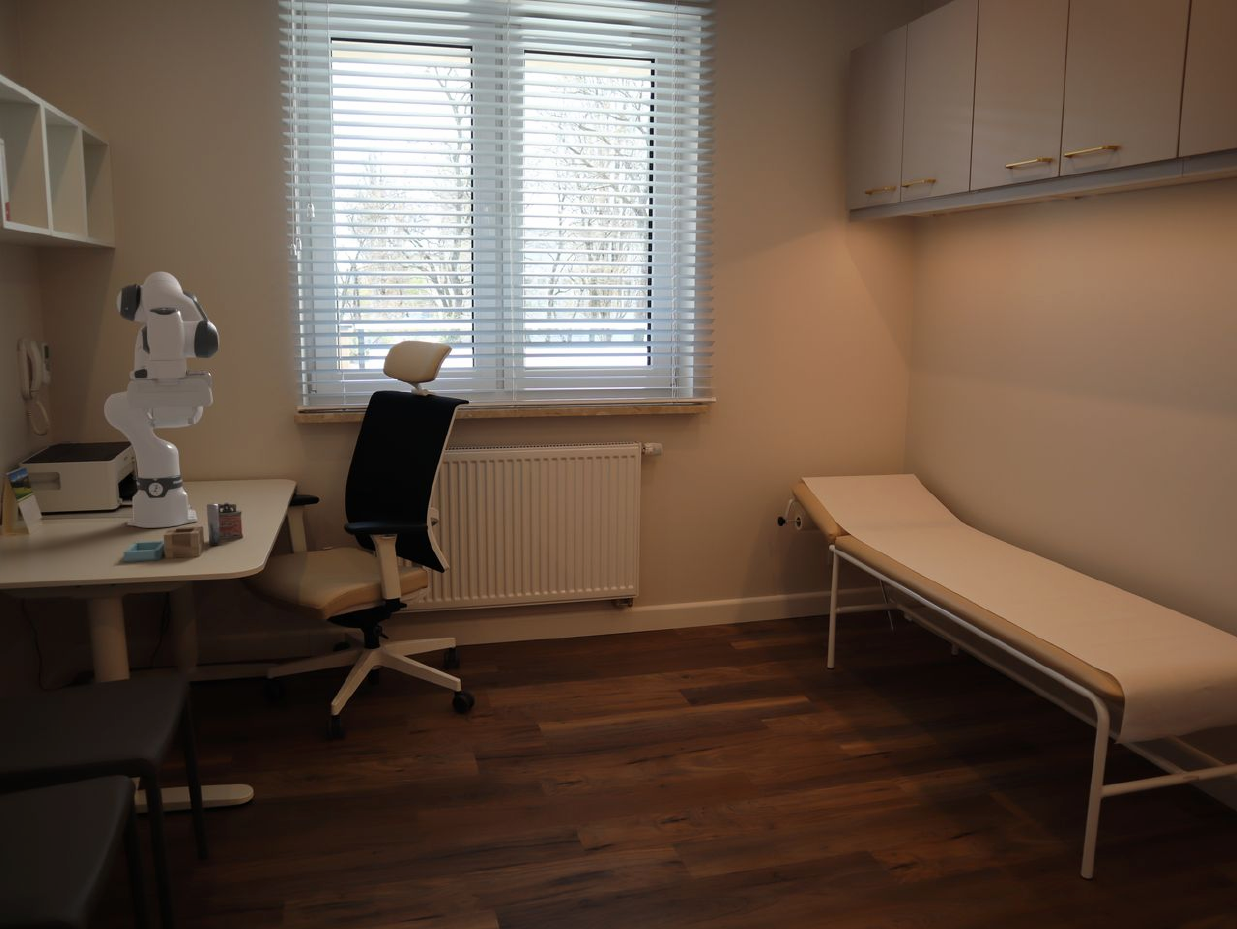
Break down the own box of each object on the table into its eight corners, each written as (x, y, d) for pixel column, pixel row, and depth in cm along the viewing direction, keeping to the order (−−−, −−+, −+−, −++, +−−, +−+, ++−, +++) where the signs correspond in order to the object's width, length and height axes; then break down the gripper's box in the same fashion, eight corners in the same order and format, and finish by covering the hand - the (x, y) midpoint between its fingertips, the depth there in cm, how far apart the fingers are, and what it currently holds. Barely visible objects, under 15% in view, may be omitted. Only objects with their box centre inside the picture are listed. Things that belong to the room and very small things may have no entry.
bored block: (171, 550, 256) (169, 528, 255) (204, 549, 258) (203, 526, 257) (165, 558, 249) (163, 534, 248) (199, 556, 251) (197, 533, 250)
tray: (134, 551, 255) (133, 542, 255) (168, 550, 257) (167, 540, 257) (124, 562, 245) (123, 552, 244) (159, 560, 246) (158, 550, 246)
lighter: (243, 536, 273) (240, 500, 271) (243, 539, 270) (241, 503, 268) (211, 538, 270) (209, 502, 268) (211, 541, 267) (208, 505, 265)
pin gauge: (210, 544, 264) (207, 503, 262) (221, 543, 264) (218, 503, 263) (208, 546, 261) (205, 505, 259) (219, 546, 262) (217, 505, 260)
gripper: (213, 370, 260) (216, 422, 262) (129, 371, 255) (133, 424, 257) (209, 371, 254) (212, 424, 256) (122, 372, 249) (127, 427, 251)
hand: (172, 424), depth 256 cm, fingers open, 8 cm apart
